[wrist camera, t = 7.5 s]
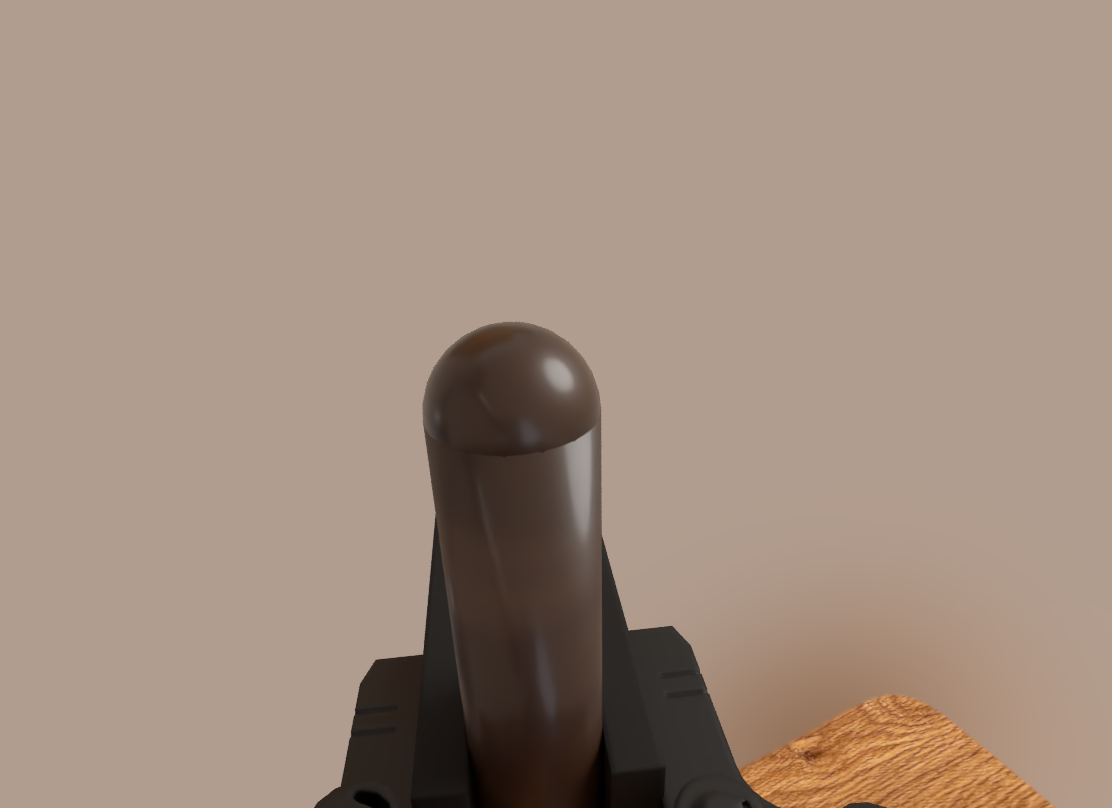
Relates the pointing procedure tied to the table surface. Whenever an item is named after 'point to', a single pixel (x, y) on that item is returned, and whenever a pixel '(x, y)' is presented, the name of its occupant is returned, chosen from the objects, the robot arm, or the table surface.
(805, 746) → the table surface
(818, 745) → the table surface
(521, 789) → the joystick lever
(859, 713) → the table surface
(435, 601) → the robot arm
